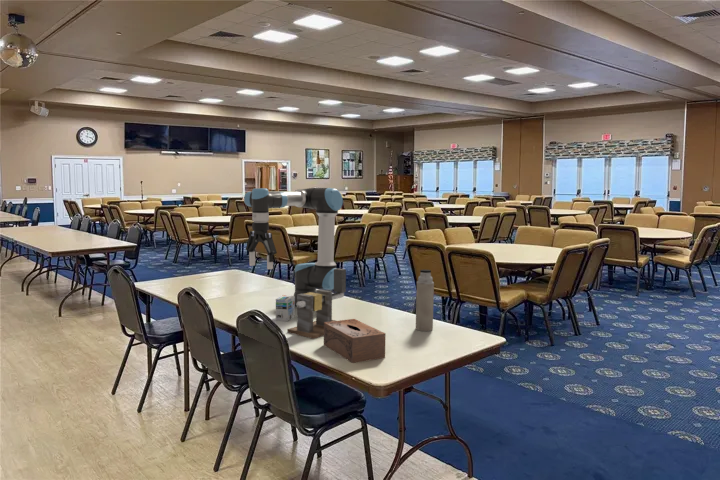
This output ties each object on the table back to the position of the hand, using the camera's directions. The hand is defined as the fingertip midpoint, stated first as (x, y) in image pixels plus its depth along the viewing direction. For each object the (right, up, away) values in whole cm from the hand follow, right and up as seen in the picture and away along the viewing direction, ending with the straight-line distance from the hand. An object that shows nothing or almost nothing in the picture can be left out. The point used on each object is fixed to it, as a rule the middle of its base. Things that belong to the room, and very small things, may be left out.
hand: (261, 267), depth 258 cm
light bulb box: (+9, -27, +19) cm, 34 cm away
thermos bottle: (+76, -29, +2) cm, 82 cm away
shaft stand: (+27, -29, -1) cm, 40 cm away
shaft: (+28, -16, -2) cm, 33 cm away
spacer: (+25, -19, -7) cm, 32 cm away
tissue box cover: (+43, -33, -33) cm, 64 cm away
